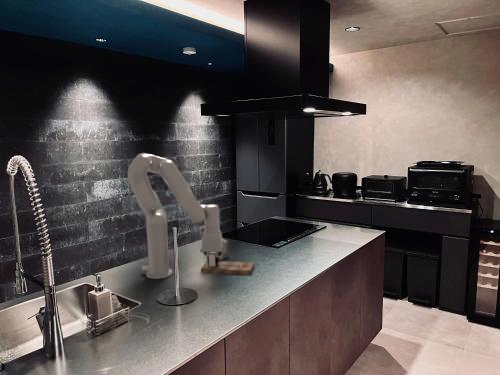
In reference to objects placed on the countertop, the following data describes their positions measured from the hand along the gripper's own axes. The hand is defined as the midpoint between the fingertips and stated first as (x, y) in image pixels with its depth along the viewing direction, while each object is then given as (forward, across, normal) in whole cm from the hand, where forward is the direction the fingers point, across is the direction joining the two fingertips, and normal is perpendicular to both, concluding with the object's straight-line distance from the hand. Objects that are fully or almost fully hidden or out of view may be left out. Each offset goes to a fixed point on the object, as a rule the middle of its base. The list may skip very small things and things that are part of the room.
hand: (213, 263), depth 195 cm
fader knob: (0, 0, 0) cm, 0 cm away
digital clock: (+3, -1, +20) cm, 20 cm away
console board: (+3, +8, 0) cm, 8 cm away
